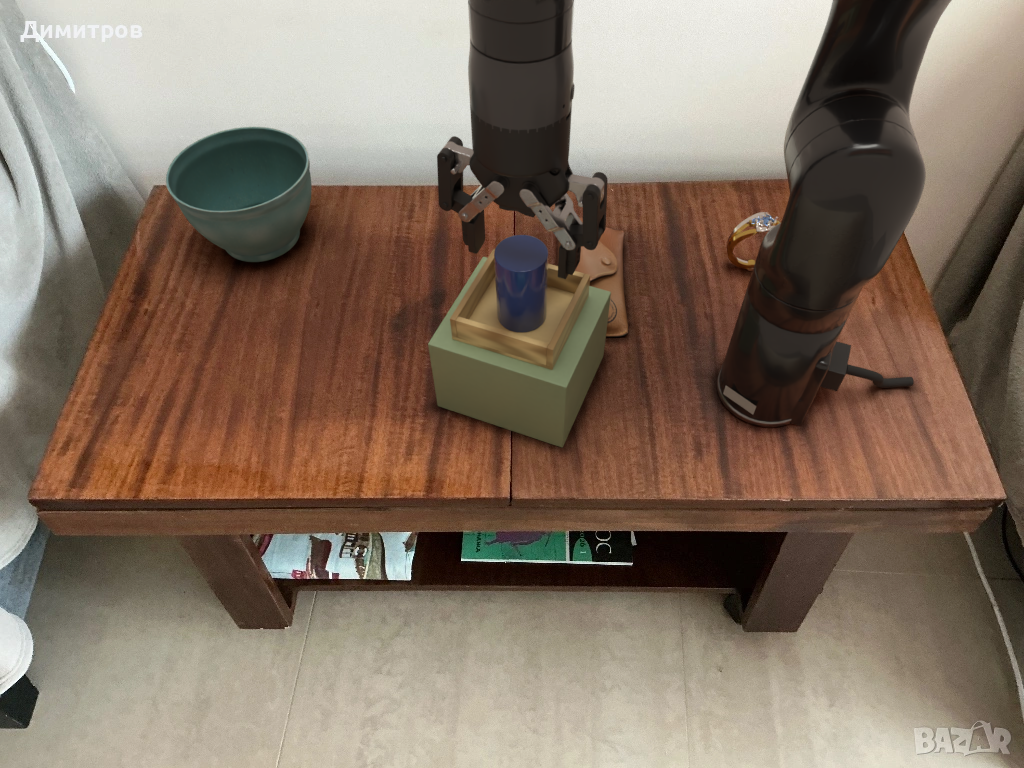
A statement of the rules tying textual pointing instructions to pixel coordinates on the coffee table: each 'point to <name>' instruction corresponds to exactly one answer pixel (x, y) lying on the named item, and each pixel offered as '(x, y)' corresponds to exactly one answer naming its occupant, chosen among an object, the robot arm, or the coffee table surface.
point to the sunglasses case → (607, 276)
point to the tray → (536, 347)
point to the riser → (521, 375)
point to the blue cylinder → (521, 282)
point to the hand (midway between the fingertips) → (520, 259)
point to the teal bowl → (244, 190)
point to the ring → (761, 223)
